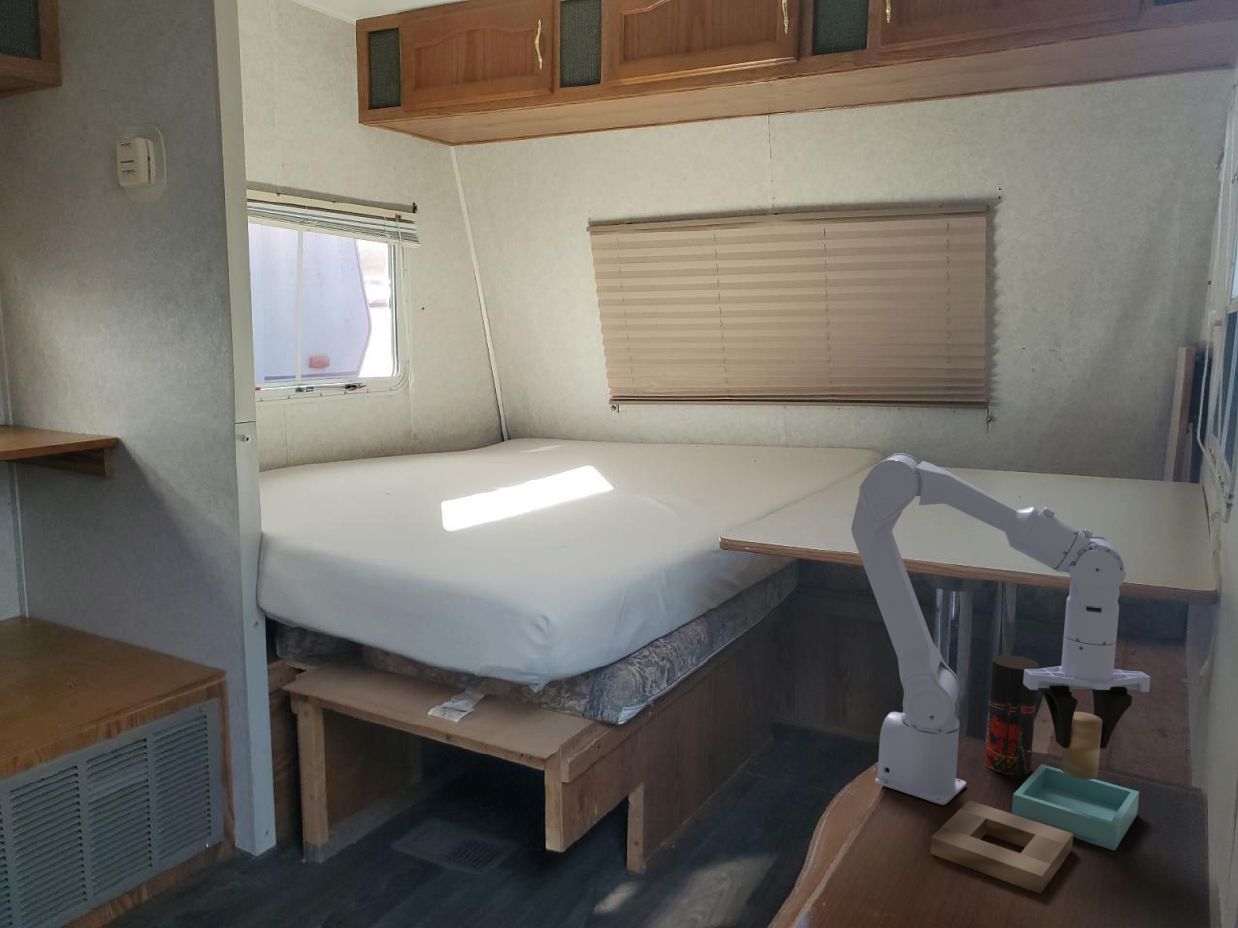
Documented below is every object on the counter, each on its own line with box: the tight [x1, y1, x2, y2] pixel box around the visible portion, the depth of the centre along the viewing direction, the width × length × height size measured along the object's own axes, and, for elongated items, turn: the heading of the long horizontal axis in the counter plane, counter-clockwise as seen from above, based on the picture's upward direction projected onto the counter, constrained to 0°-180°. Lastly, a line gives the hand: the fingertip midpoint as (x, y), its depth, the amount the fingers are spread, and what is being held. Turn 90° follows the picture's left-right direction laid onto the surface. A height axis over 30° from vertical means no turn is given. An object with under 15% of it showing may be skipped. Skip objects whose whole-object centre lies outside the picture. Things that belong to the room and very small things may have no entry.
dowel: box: [1061, 711, 1103, 780], centre depth 116 cm, size 4×4×7 cm
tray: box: [1011, 763, 1140, 852], centre depth 117 cm, size 12×12×3 cm
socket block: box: [929, 800, 1074, 895], centre depth 108 cm, size 12×12×2 cm
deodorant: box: [984, 654, 1040, 777], centre depth 130 cm, size 6×6×15 cm
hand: (1080, 744), depth 116 cm, fingers closed on dowel, 4 cm apart
